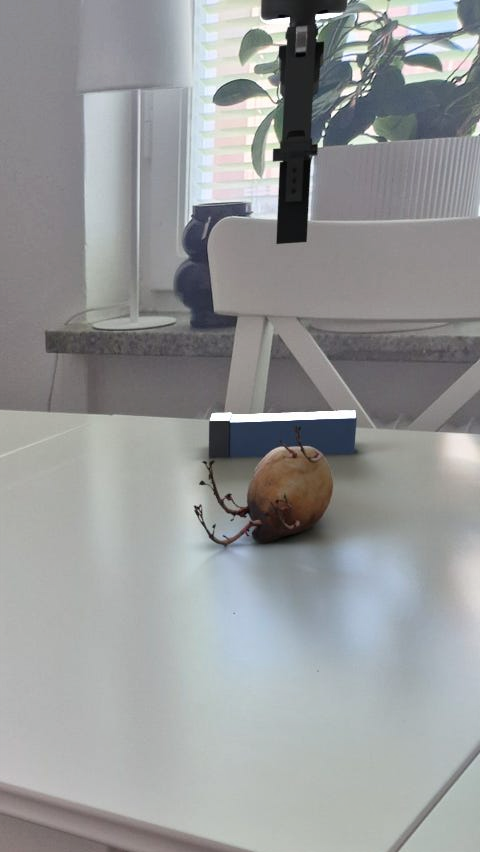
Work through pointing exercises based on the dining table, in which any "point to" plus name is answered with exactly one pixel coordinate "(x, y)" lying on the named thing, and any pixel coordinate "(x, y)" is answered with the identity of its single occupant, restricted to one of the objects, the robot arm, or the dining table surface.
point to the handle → (281, 433)
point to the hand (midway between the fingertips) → (292, 238)
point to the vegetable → (280, 494)
